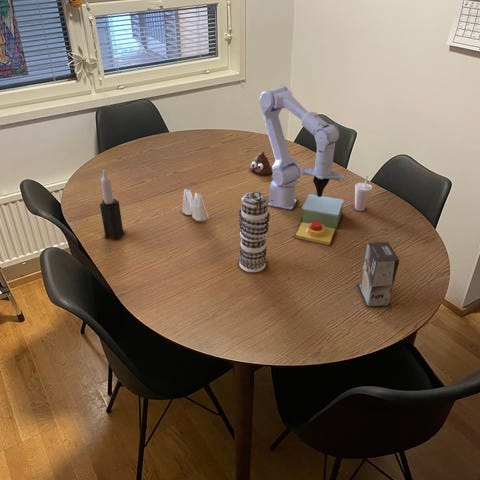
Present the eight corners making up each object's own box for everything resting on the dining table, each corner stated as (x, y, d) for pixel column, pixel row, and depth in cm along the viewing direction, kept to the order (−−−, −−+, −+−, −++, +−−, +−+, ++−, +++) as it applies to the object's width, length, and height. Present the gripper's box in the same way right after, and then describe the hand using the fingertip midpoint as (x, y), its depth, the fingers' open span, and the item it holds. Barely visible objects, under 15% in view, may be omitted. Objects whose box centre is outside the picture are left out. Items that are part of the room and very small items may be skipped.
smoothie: (368, 213, 175) (374, 180, 167) (351, 211, 176) (356, 178, 168) (367, 205, 180) (374, 172, 172) (351, 203, 181) (356, 171, 173)
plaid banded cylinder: (257, 276, 142) (261, 207, 129) (232, 266, 146) (233, 198, 133) (272, 261, 149) (276, 193, 135) (247, 252, 153) (249, 185, 139)
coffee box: (389, 305, 132) (400, 261, 124) (367, 306, 132) (377, 261, 123) (378, 284, 140) (388, 241, 131) (358, 285, 140) (366, 242, 131)
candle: (124, 232, 162) (115, 167, 148) (116, 240, 158) (106, 174, 144) (112, 229, 163) (101, 165, 150) (104, 237, 159) (92, 171, 145)
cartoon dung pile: (275, 170, 204) (276, 150, 199) (265, 177, 198) (266, 157, 193) (255, 165, 208) (256, 145, 203) (245, 172, 202) (246, 152, 197)
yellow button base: (295, 237, 161) (296, 230, 159) (301, 224, 168) (302, 217, 166) (329, 245, 157) (330, 238, 155) (334, 231, 164) (335, 224, 163)
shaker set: (209, 221, 168) (208, 195, 162) (200, 225, 166) (199, 199, 160) (190, 208, 176) (189, 182, 170) (181, 212, 174) (179, 186, 168)
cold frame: (302, 222, 169) (303, 209, 166) (309, 207, 178) (310, 195, 175) (336, 229, 166) (338, 216, 163) (341, 213, 175) (343, 201, 172)
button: (309, 230, 160) (310, 225, 159) (312, 224, 163) (312, 220, 162) (320, 232, 159) (320, 227, 158) (322, 226, 162) (322, 222, 161)
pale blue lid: (301, 209, 166) (301, 207, 166) (309, 195, 175) (309, 193, 175) (338, 216, 163) (338, 214, 162) (343, 201, 172) (343, 199, 171)
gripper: (300, 161, 156) (297, 196, 164) (343, 169, 152) (337, 204, 160) (305, 153, 162) (302, 187, 169) (347, 160, 158) (341, 195, 165)
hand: (319, 195), depth 165 cm, fingers closed
